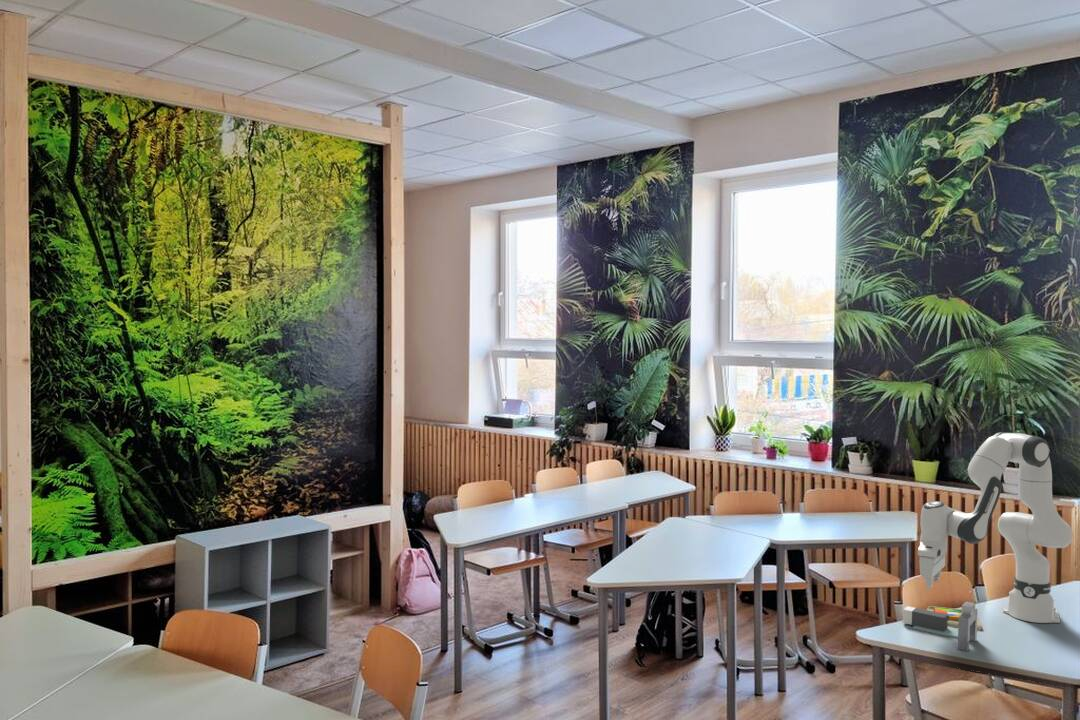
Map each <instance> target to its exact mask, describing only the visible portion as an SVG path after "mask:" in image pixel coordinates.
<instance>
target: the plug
mask: <svg viewBox="0 0 1080 720" xmlns="http://www.w3.org/2000/svg"><path fill="white" fill-rule="evenodd" d="M902 611H903V614H902V623H903V624H906V625H911V626H914V625H915V626H920V627H924V628H929V629H933V630H938V631H943V632H944V631H945V630H946V629H947V628H948V614H943V613H938V612H933V611H929V610H927V609H923V608H918V607H913V606H909V605H908V606H905V607H904V608H903V610H902Z"/></svg>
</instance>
